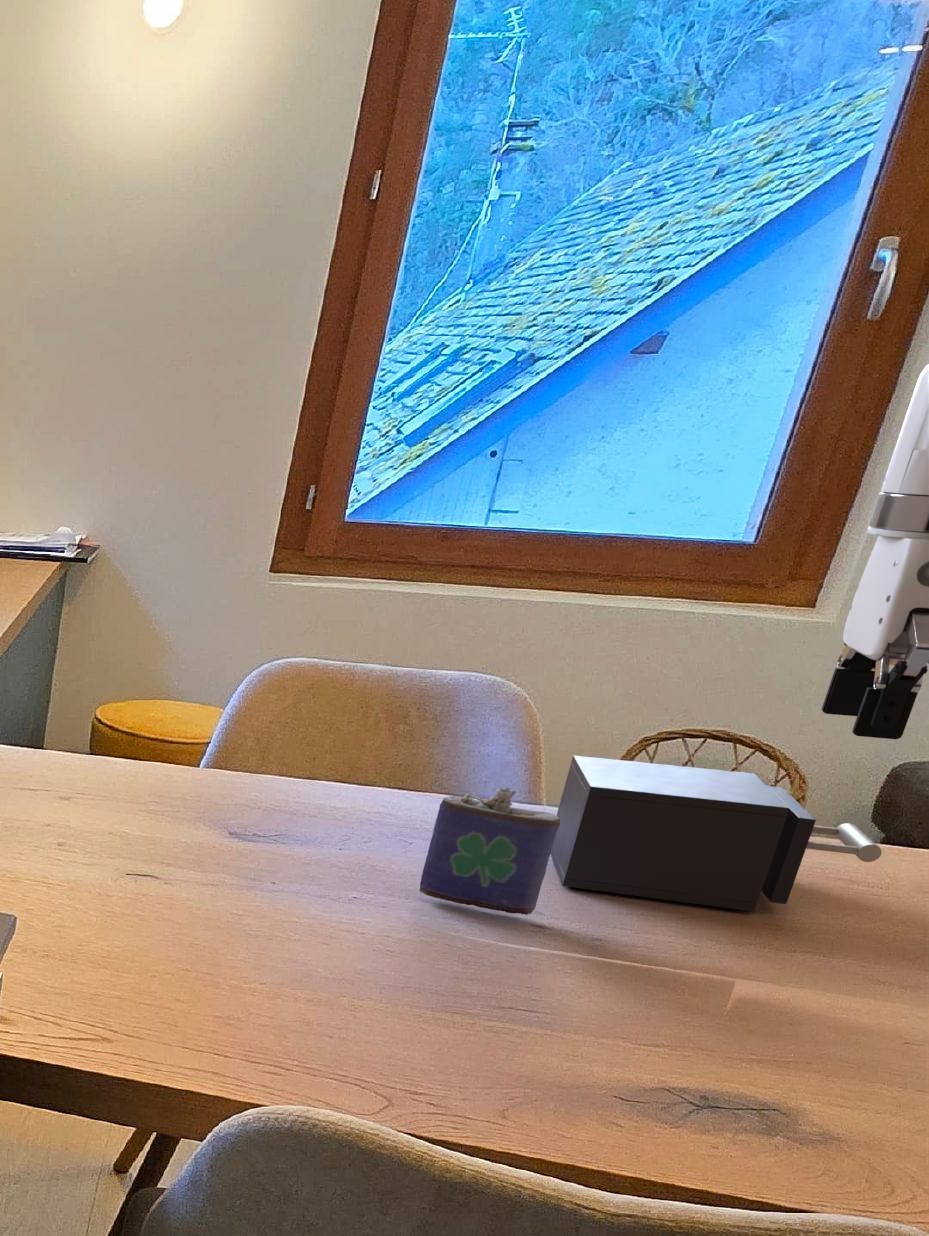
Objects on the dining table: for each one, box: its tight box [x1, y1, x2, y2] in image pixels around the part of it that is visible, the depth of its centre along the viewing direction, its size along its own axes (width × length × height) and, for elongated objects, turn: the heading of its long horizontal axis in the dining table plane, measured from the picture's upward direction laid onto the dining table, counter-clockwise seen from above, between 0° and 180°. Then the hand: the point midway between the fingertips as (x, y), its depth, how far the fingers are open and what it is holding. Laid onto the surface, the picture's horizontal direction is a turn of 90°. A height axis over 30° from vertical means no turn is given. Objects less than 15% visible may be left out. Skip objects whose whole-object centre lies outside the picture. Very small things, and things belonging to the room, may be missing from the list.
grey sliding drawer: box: [761, 785, 882, 905], centre depth 126 cm, size 19×11×8 cm, turn 64°
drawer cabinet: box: [550, 755, 789, 912], centre depth 128 cm, size 15×13×10 cm
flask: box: [418, 787, 560, 916], centre depth 121 cm, size 9×3×11 cm, turn 52°
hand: (859, 725), depth 119 cm, fingers open, 8 cm apart
